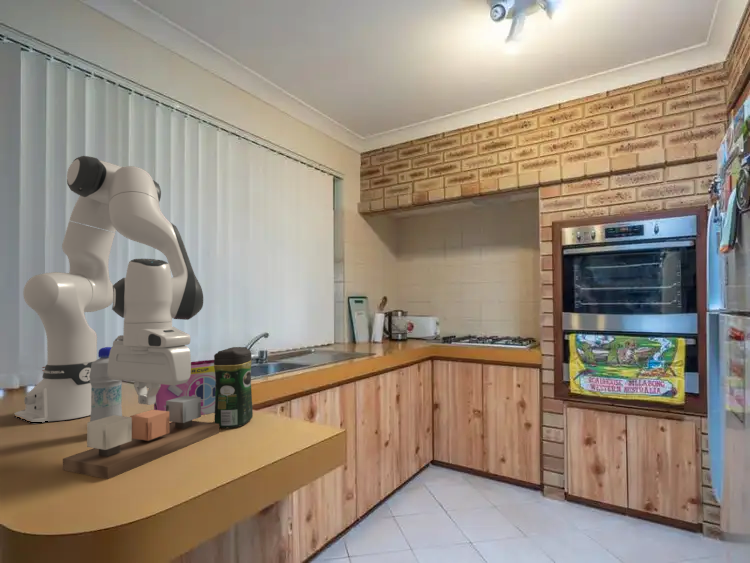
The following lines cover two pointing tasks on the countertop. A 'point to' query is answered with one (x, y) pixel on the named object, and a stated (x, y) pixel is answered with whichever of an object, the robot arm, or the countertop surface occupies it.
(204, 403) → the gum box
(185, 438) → the button board
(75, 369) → the robot arm
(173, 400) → the slate-grey button
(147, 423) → the terracotta button
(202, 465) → the countertop surface
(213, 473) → the countertop surface
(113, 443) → the cream button
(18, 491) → the countertop surface
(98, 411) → the bottle
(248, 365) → the coffee jar
